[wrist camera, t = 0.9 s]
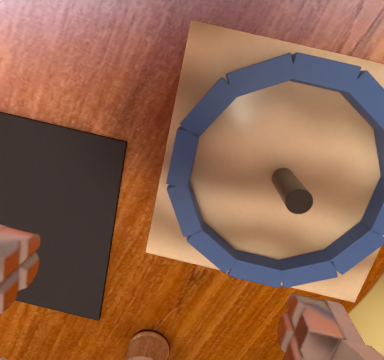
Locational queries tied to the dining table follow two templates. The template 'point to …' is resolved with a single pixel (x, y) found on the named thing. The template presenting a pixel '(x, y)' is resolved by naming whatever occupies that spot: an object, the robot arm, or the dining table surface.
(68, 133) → the mat
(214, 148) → the platform
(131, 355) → the spice jar
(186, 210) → the ring
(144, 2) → the dining table surface
